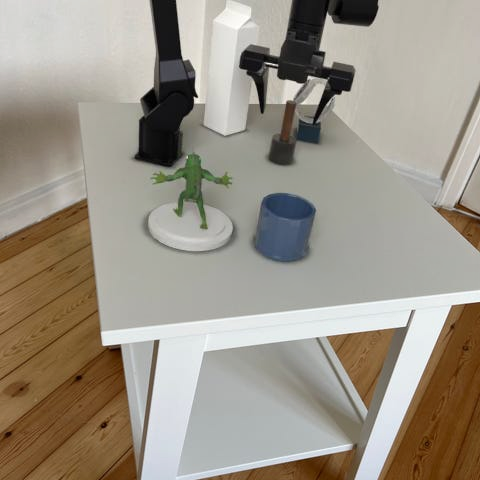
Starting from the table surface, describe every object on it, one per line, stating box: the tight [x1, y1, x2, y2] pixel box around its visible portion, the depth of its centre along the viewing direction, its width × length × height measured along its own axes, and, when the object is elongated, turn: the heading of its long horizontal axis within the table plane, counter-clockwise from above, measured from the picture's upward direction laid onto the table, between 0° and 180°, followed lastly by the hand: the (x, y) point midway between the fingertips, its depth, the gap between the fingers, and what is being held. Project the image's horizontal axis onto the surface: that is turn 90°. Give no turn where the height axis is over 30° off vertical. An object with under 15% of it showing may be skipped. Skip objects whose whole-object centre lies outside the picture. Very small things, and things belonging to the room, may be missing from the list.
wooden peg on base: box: [268, 99, 298, 166], centre depth 99 cm, size 4×4×10 cm
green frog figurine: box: [147, 146, 234, 252], centre depth 76 cm, size 12×12×10 cm
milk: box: [203, 0, 261, 137], centre depth 103 cm, size 6×6×22 cm
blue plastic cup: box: [254, 192, 317, 262], centre depth 77 cm, size 7×7×6 cm
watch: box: [292, 77, 336, 144], centre depth 109 cm, size 6×8×11 cm
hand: (287, 119), depth 97 cm, fingers open, 9 cm apart
